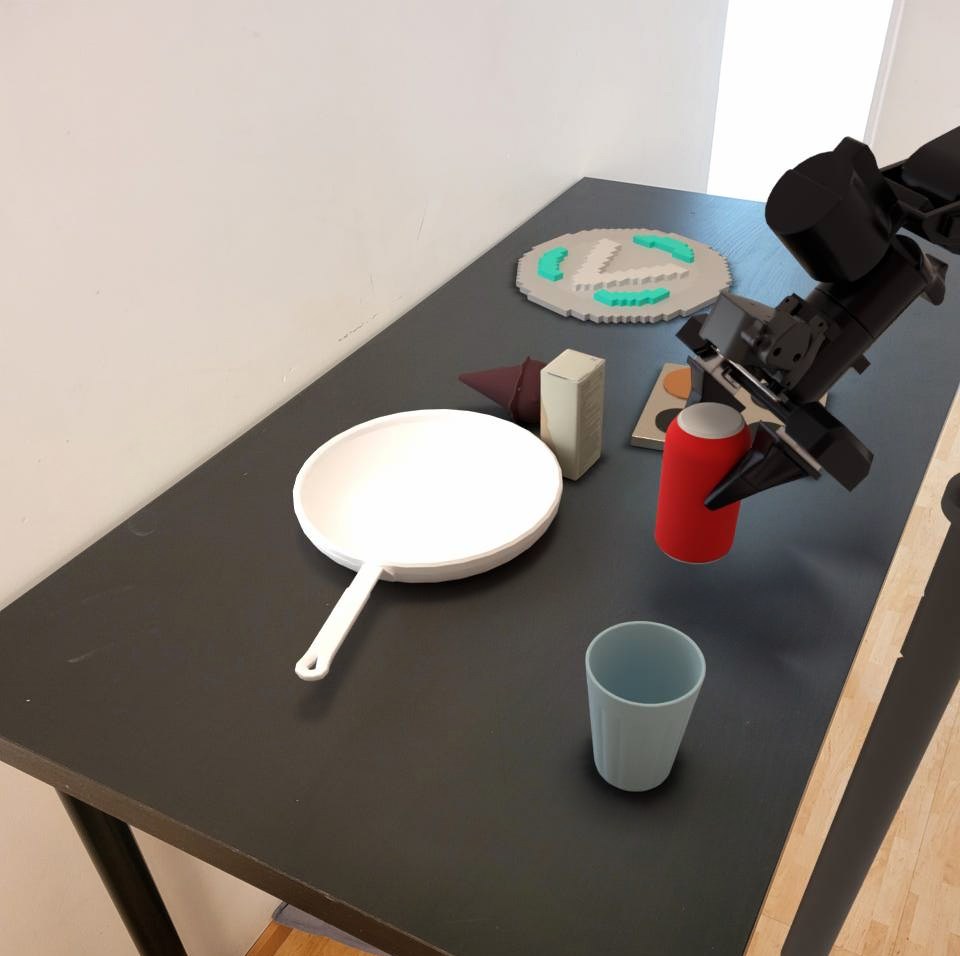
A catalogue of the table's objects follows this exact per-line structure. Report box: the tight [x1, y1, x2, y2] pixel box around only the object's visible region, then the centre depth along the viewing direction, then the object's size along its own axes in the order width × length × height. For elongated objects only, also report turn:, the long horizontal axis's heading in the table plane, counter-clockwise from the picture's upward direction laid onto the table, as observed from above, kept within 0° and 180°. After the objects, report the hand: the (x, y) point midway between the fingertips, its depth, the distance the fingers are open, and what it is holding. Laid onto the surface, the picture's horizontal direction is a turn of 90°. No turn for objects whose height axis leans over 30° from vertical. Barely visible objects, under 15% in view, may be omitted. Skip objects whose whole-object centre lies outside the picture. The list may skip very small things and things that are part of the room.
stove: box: [630, 362, 829, 452], centre depth 99 cm, size 18×16×1 cm
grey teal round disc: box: [515, 227, 733, 324], centre depth 125 cm, size 28×28×2 cm
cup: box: [584, 620, 707, 792], centre depth 64 cm, size 8×8×10 cm
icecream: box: [457, 355, 549, 424], centre depth 99 cm, size 7×7×15 cm
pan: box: [292, 408, 564, 682], centre depth 83 cm, size 25×39×4 cm, turn 162°
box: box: [540, 348, 606, 481], centre depth 91 cm, size 5×4×11 cm
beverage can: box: [654, 403, 752, 565], centre depth 71 cm, size 6×6×12 cm
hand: (685, 484), depth 71 cm, fingers closed on beverage can, 6 cm apart
